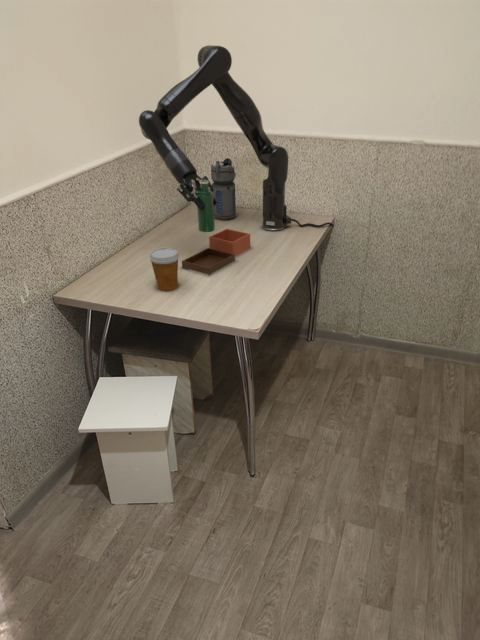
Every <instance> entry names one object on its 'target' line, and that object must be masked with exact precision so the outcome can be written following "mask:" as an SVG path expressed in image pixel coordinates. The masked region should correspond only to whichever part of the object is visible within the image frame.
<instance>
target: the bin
mask: <svg viewBox="0 0 480 640" xmlns="http://www.w3.org/2000/svg"><path fill="white" fill-rule="evenodd" d="M208 243H209V248H211V249H215V250H219V251H223V252H227V253H231V254H235V257H236V256H238V255H239V254H241V253H244V252H245V251H247V250H249V249H251V233H248V232H243V231H239V230H235V229H231V228H225V229H222V230H220V231H218V232H216V233H214V234H212V235H210V236H208Z"/></svg>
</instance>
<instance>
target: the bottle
mask: <svg viewBox="0 0 480 640" xmlns="http://www.w3.org/2000/svg"><path fill="white" fill-rule="evenodd" d="M208 180H209V179H208ZM208 180H201V181H199V182H200V188H201V189H200V190H198V192H197V194H198V197H199V198H200V199H201V201H202V202H203V204H204V205H205V206H206V208H205V209H204V210H203V211H201V210H200V209H199V208H198V207H197V206H196V211H197V226H198V231H199V232H202V233H211V232H214V231H215V230H216V226H215V224H216V223H215V217H214V202H213V193H212V192H211V190H210V188H209V187H208V183H209V181H210V180H209V181H208ZM208 188H209V189H208Z"/></svg>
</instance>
